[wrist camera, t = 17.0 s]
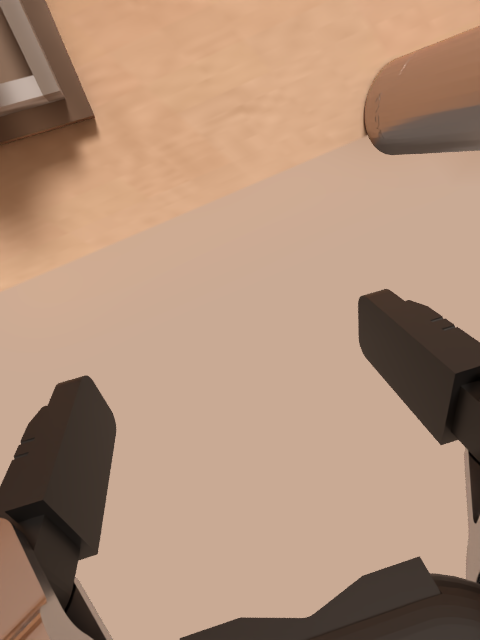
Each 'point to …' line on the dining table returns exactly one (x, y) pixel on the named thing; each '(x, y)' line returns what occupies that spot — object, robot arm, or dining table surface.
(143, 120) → the dining table surface
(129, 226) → the dining table surface
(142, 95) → the dining table surface
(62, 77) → the frame
